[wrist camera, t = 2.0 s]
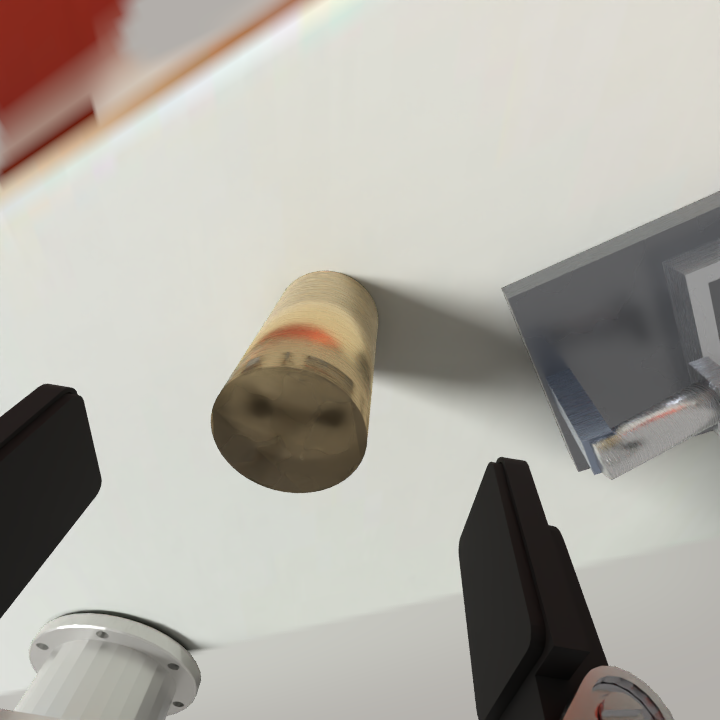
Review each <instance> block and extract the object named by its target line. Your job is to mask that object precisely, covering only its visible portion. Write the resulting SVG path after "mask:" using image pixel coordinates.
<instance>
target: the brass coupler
mask: <svg viewBox="0 0 720 720" xmlns="http://www.w3.org/2000/svg"><path fill="white" fill-rule="evenodd" d="M377 330H378V313H377V308H376V305H375V303H374V301H373V299H372V297H371V295H370V294H369V293H368V291H367V290H366V289H365V288H364V287H363V286H362V285H361V284H360V283H359V282H357V281H356V280H354V279H353V278H351V277H349V276H347V275H344V274H341V273H337V272H332V271H317V272H312V273H309V274H306V275H304V276H301V277H300V278H298V279H296V280H295V281H294V282H293V283H291V284H290V285H289V287H288V288H287V289H286V290H285V292H284V293H283V295H282V296H281V298H280V300H279V301H278V303H277V304H276V306H275V307H274V309H273V311H272V312H271V314H270V315H269V317H268V318H267V320H266V322H265V323H264V325H263V326H262V328H261V329H260V331H259V333H258V334H257V336H256V337H255V339H254V340H253V342H252V344H251V345H250V347H249V348H248V350H247V351H246V353H245V355H244V356H243V358H242V359H241V361H240V362H239V364H238V366H237V367H236V369H235V370H234V372H233V373H232V375H231V377H230V378H229V380H228V381H227V383H226V384H225V386H224V388H223V389H222V391H221V392H220V394H219V395H218V397H217V399H216V401H215V403H214V406H213V409H212V414H211V429H212V434H213V437H214V440H215V443H216V445H217V447H218V449H219V451H220V452H221V454H222V455H223V457H224V458H225V459H226V460H227V462H228V463H229V464H230V465H231V466H232V467H233V468H234V469H235V470H237V471H238V472H239V473H240V474H242V475H243V476H245V477H246V478H248V479H249V480H251V481H253V482H255V483H257V484H260V485H262V486H264V487H267V488H270V489H274V490H278V491H283V492H291V493H308V492H316V491H321V490H324V489H327V488H330V487H332V486H335V485H337V484H339V483H340V482H342V481H344V480H345V479H346V478H348V477H349V476H350V475H351V474H352V473H353V472H354V471H355V470H356V469H357V467H358V466H359V464H360V463H361V461H362V459H363V457H364V454H365V451H366V447H367V436H368V426H369V415H370V404H371V394H372V383H373V372H374V362H375V351H376V341H377Z"/></svg>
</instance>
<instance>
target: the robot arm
mask: <svg viewBox="0 0 720 720" xmlns="http://www.w3.org/2000/svg"><path fill="white" fill-rule="evenodd" d="M101 482H102V480H101V475H100V470H99V466H98V461H97V457H96V453H95V448H94V444H93V440H92V435H91V431H90V426H89V422H88V418H87V413H86V409H85V405H84V400H83V398H82V397H81V396H79V395H78V394H77V391H76V390H75V389H74V388H70V387H64V386H58V385H52V384H43V385H41V386H40V387H38V388H37V389H35V390H34V391H33V392H32V393H30V394H29V395H28V396H27V397H25V398H24V399H23V400H21V401H20V402H19V403H18V404H16V405H15V406H14V407H13V408H11V409H10V410H9V411H7V412H6V413H5V414H4V415H2V416H1V417H0V618H1V617H2V616H3V615H4V613H5V612H6V611H7V609H8V608H9V607H10V606H11V604H12V603H13V602H14V600H15V599H16V598H17V597H18V595H19V594H20V593H21V591H22V590H23V589H24V588H25V586H26V585H27V584H28V583H29V581H30V580H31V579H32V577H33V576H34V575H35V574H36V572H37V571H38V570H39V568H40V567H41V566H42V565H43V563H44V562H45V561H46V559H47V558H48V557H49V556H50V554H51V553H52V552H53V551H54V549H55V548H56V547H57V545H58V544H59V543H60V542H61V540H62V539H63V538H64V536H65V535H66V534H67V533H68V531H69V530H70V529H71V527H72V526H73V525H74V524H75V522H76V521H77V520H78V518H79V517H80V516H81V515H82V513H83V512H84V511H85V510H86V508H87V507H88V506H89V504H90V503H91V502H92V501H93V499H94V498H95V497H96V495H97V494H98V492H99V490H100V487H101ZM459 561H460V570H461V578H462V587H463V596H464V604H465V613H466V622H467V630H468V639H469V648H470V656H471V665H472V674H473V683H474V692H475V701H476V709H477V715H478V719H479V720H674V719H673V717H672V715H671V713H670V711H669V709H668V708H667V707H666V706H665V704H664V703H663V701H662V700H661V699H660V697H659V696H658V695H657V694H656V693H655V692H654V691H653V690H652V689H651V688H650V687H649V686H648V685H647V684H646V683H645V682H643V681H642V680H641V679H639V678H637V677H636V676H635V675H633V674H631V673H630V672H628V671H625V670H623V669H620V668H618V667H613V666H608V663H607V660H606V657H605V654H604V652H603V649H602V646H601V643H600V641H599V638H598V635H597V632H596V629H595V627H594V624H593V621H592V618H591V615H590V612H589V610H588V607H587V604H586V601H585V599H584V595H583V593H582V590H581V587H580V584H579V582H578V579H577V576H576V573H575V570H574V567H573V565H572V562H571V559H570V556H569V553H568V550H567V548H566V545H565V542H564V539H563V537H562V535H561V533H560V531H559V530H558V529H557V528H556V527H554V526H550V525H548V523H547V520H546V517H545V514H544V511H543V508H542V505H541V502H540V499H539V496H538V493H537V490H536V487H535V484H534V481H533V478H532V475H531V472H530V469H529V466H528V464H527V462H526V461H522V460H516V459H510V458H504V457H499V458H498V459H497V461H496V463H494V462H490V463H489V464H488V466H487V468H486V471H485V474H484V476H483V479H482V482H481V484H480V487H479V490H478V492H477V495H476V498H475V500H474V503H473V505H472V508H471V511H470V513H469V516H468V519H467V521H466V524H465V527H464V529H463V532H462V535H461V537H460V541H459ZM29 659H30V662H31V664H32V666H33V669H34V670H35V671H36V673H37V675H36V677H35V678H34V680H33V681H32V683H31V684H30V686H29V687H28V689H27V691H26V692H25V694H24V695H23V697H22V698H21V700H20V702H19V703H18V705H17V706H16V708H15V709H14V711H10V710H5V709H0V720H165V718H166V716H168V715H172V714H175V713H178V712H180V711H181V710H184V709H185V708H187V707H188V706H189V705H190V704H191V703H192V702H193V700H194V699H195V696H196V694H197V691H198V688H199V685H200V681H201V675H200V670H199V668H198V665H197V663H196V661H195V660H194V659H193V657H192V656H191V654H190V653H189V652H188V651H187V650H186V649H185V648H184V647H183V646H181V645H180V644H179V643H178V642H176V641H175V640H173V639H172V638H171V637H169V636H168V635H166V634H164V633H162V632H160V631H158V630H156V629H154V628H152V627H150V626H147V625H145V624H142V623H140V622H137V621H133V620H130V619H126V618H123V617H118V616H113V615H107V614H96V613H79V614H71V615H66V616H61V617H58V618H56V619H54V620H51V621H49V622H48V623H47V624H45V625H44V626H43V627H42V628H41V629H40V631H39V632H38V633H37V635H36V636H35V638H34V639H33V640H32V642H31V645H30V648H29Z"/></svg>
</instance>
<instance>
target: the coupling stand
mask: <svg viewBox="0 0 720 720" xmlns="http://www.w3.org/2000/svg"><path fill="white" fill-rule="evenodd" d="M502 291H503V293H504V296H505V298H506V300H507V303H508V305H509V308H510V310H511V313H512V315H513V318H514V320H515V322H516V325H517V327H518V330H519V332H520V335H521V337H522V339H523V342H524V344H525V347H526V349H527V352H528V354H529V356H530V359H531V361H532V364H533V366H534V369H535V371H536V373H537V376H538V378H539V381H540V383H541V386H542V388H543V391H544V393H545V395H546V398H547V400H548V403H549V405H550V408H551V410H552V412H553V415H554V417H555V420H556V422H557V425H558V427H559V429H560V432H561V434H562V437H563V439H564V442H565V444H566V447H567V449H568V451H569V454H570V456H571V458H572V460H573V462H574V464H575V466H576V468H577V470H578V472H579V471H583V470H586V469H589V468H591V470H592V472H593V473H594V475H595V474H599V473H603V474H604V475H605V476H606V477H608V478H609V479H612V480H613V479H615V478H617V477H618V476H620V475H622V474H624V473H626V472H628V471H630V470H631V469H633V468H635V467H637V466H639V465H641V464H643V463H644V462H646V461H648V460H650V459H652V458H654V457H655V456H657V455H659V454H661V453H663V452H665V451H667V450H668V449H670V448H672V447H674V446H676V445H678V444H680V443H681V442H683V441H685V440H687V439H689V438H691V437H693V436H696V435H699V434H703V433H706V432H709V431H712V430H714V431H715V432H716V433H717V434H718V435H719V436H720V191H719V192H717V193H714V194H712V195H710V196H708V197H706V198H703V199H701V200H699V201H697V202H694V203H692V204H690V205H688V206H685V207H683V208H681V209H679V210H676V211H674V212H672V213H670V214H667V215H665V216H663V217H661V218H658V219H656V220H654V221H652V222H649V223H647V224H645V225H643V226H640V227H638V228H636V229H634V230H631V231H629V232H627V233H625V234H622V235H620V236H618V237H616V238H613V239H611V240H609V241H607V242H604V243H602V244H600V245H598V246H595V247H593V248H591V249H589V250H586V251H584V252H582V253H580V254H577V255H575V256H573V257H571V258H568V259H566V260H564V261H562V262H559V263H557V264H555V265H553V266H550V267H548V268H546V269H544V270H541V271H539V272H537V273H535V274H532V275H530V276H528V277H526V278H523V279H521V280H519V281H517V282H514V283H512V284H510V285H508V286H505V287H503V288H502Z"/></svg>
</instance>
